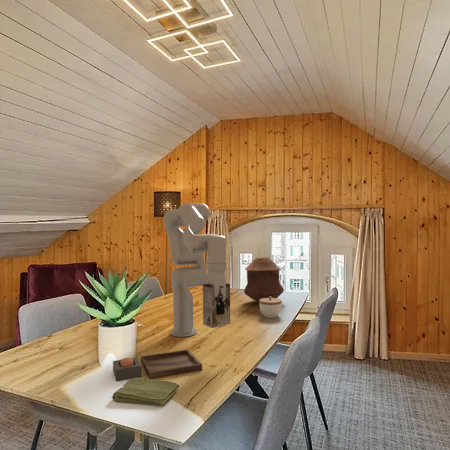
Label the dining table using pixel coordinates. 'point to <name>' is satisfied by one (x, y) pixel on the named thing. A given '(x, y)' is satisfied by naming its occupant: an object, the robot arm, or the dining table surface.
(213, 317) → the coffee box
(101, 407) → the dining table surface
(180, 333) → the robot arm
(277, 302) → the lidded bowl
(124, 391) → the washcloth
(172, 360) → the tray
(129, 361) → the button cap
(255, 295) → the pottery vessel
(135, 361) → the button housing
